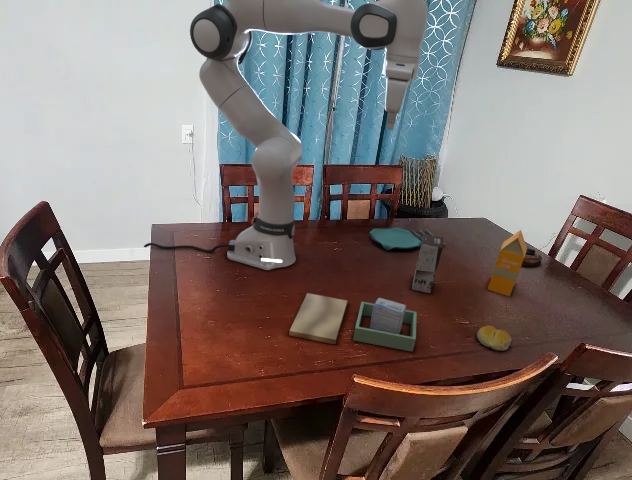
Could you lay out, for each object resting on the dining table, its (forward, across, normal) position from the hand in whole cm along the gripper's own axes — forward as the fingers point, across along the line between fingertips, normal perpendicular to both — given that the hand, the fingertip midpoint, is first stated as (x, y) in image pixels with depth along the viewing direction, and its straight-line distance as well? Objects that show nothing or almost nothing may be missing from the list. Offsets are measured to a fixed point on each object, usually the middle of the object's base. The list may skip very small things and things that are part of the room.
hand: (390, 126), depth 120 cm
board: (+47, +29, -10) cm, 56 cm away
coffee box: (+47, -2, +19) cm, 50 cm away
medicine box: (+47, +30, +8) cm, 56 cm away
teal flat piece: (+47, -37, +12) cm, 61 cm away
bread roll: (+47, +25, +38) cm, 66 cm away
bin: (+47, +29, +8) cm, 56 cm away
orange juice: (+47, -10, +46) cm, 66 cm away
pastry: (+47, -38, +59) cm, 85 cm away
